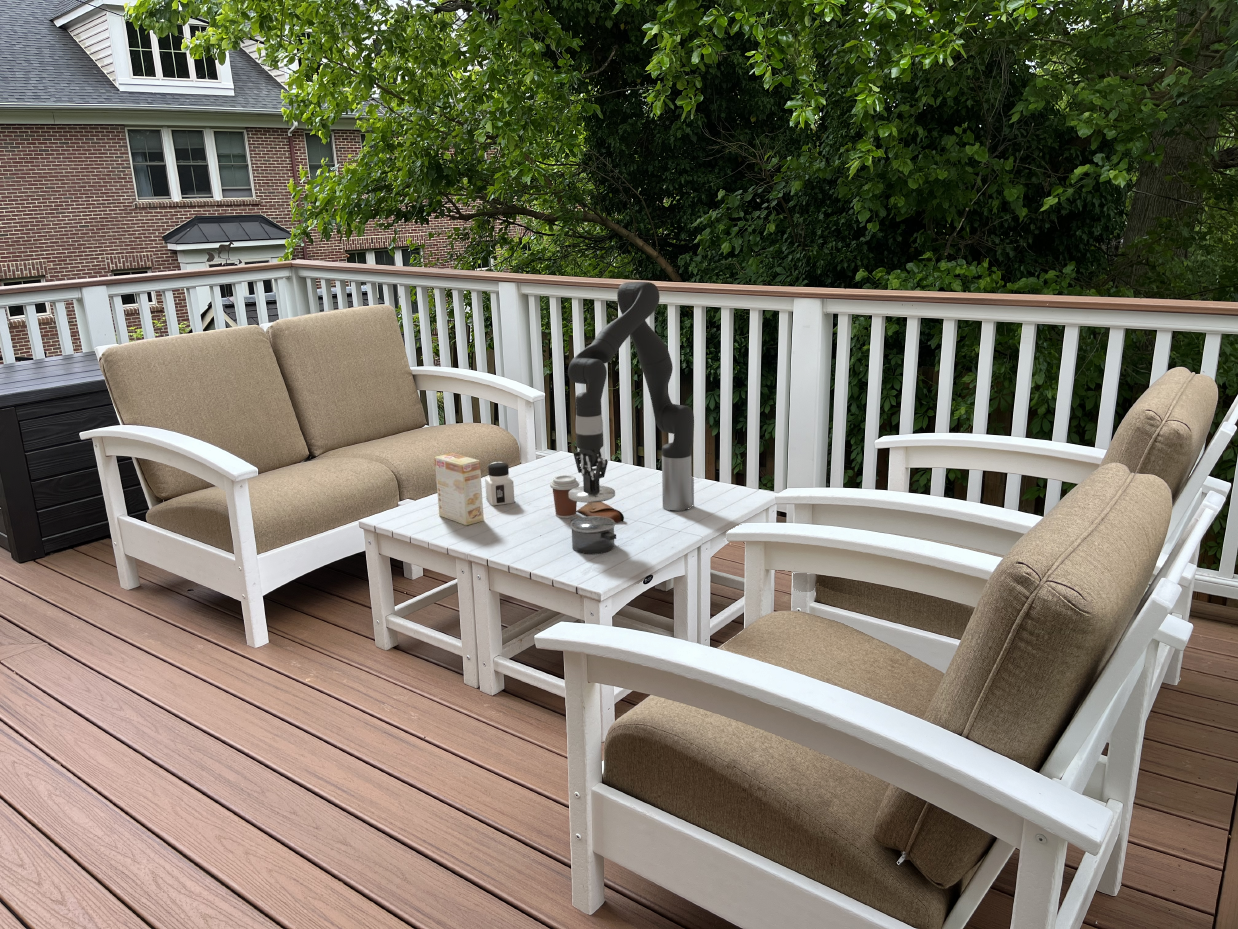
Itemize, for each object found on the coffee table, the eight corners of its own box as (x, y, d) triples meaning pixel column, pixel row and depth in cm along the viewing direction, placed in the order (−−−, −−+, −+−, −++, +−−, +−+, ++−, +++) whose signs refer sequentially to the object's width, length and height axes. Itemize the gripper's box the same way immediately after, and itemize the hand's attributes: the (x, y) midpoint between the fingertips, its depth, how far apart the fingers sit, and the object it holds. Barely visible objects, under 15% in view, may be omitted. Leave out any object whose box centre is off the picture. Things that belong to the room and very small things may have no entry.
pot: (592, 533, 281) (591, 510, 279) (631, 550, 266) (630, 527, 264) (556, 542, 274) (555, 519, 272) (594, 561, 259) (593, 537, 257)
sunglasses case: (572, 510, 301) (581, 491, 301) (590, 518, 305) (598, 499, 305) (600, 526, 286) (609, 506, 286) (618, 533, 290) (627, 513, 290)
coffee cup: (566, 508, 304) (565, 472, 301) (586, 514, 298) (585, 477, 295) (545, 515, 298) (543, 478, 294) (565, 521, 292) (563, 484, 288)
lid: (597, 485, 274) (596, 465, 273) (624, 496, 264) (623, 474, 263) (559, 494, 267) (558, 473, 265) (585, 505, 257) (585, 483, 255)
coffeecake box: (484, 520, 295) (480, 460, 289) (466, 526, 290) (461, 464, 285) (456, 510, 305) (452, 451, 300) (438, 515, 300) (433, 456, 295)
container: (514, 503, 311) (512, 464, 307) (491, 506, 308) (489, 467, 305) (508, 496, 318) (506, 459, 314) (486, 499, 315) (483, 462, 312)
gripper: (615, 432, 257) (617, 493, 262) (586, 424, 268) (588, 482, 273) (592, 437, 253) (595, 498, 258) (563, 428, 264) (566, 487, 269)
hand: (591, 490), depth 265 cm, fingers closed on lid, 3 cm apart
